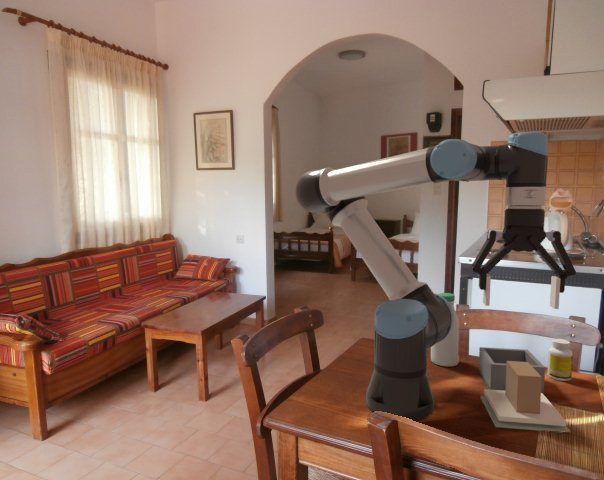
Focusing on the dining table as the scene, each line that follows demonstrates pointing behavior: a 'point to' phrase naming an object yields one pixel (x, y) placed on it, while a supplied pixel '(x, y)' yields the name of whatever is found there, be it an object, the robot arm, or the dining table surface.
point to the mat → (517, 424)
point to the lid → (523, 398)
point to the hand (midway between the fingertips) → (519, 306)
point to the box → (504, 365)
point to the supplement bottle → (560, 360)
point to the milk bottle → (448, 341)
